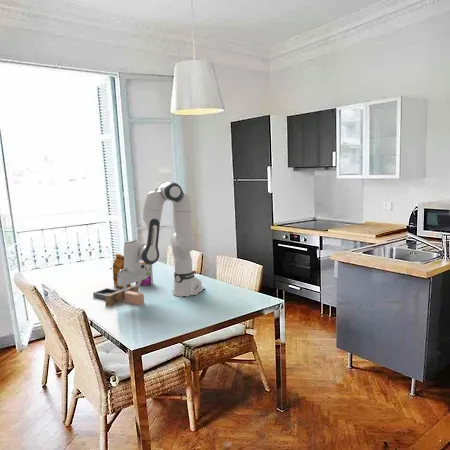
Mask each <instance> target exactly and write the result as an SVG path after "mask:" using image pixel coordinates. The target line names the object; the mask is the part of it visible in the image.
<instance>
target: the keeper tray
mask: <svg viewBox="0 0 450 450" xmlns="http://www.w3.org/2000/svg"><path fill="white" fill-rule="evenodd" d="M116 291H119V290H118V289H113V288H109V287H106V288H103V289H100V290H97V291H94V292H93V294H92V296H93V298H96V299H100V300H103V301H105V295H108V294H111V293H114V292H116Z"/></svg>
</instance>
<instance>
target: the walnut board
mask: <svg viewBox="0 0 450 450" xmlns="http://www.w3.org/2000/svg"><path fill="white" fill-rule="evenodd" d="M127 289H128V291H133V292H138V293H140V292H139V288H136V284H133V285H131V286H130V287H127ZM124 293H125V291H124V288H123V289H120V290H119V291H116V292H114V293H111V294H108V295H105V300H104V302H105V306H107V307H110V306H113V305H115V304H118V303H121V302H123V301H124V302H125V295H124Z"/></svg>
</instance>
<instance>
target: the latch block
mask: <svg viewBox="0 0 450 450" xmlns="http://www.w3.org/2000/svg"><path fill="white" fill-rule="evenodd" d="M124 295H125V300H124V302H125V303H127V304H128V303H129V304H133V305H136V304H137V305H136V306H140V305H143V304H145V296H144V293H142V292H139V293H138V292H133V291H128V292H125V293H124Z"/></svg>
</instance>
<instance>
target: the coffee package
mask: <svg viewBox="0 0 450 450" xmlns="http://www.w3.org/2000/svg"><path fill="white" fill-rule="evenodd" d="M114 257H115V259H114V262H113V263H112V275H113V276H112V279H113V285H114V286H116V287H117V288H119V289H120V290H122V289H124V288H123V286H119V285H118V284H117V278H118V272H119V271H120V270H123V269H124V255H122V254H118V253H116V254H115V255H114ZM130 286H132V283H131V284H128V285H127V288H128V287H130Z"/></svg>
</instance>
